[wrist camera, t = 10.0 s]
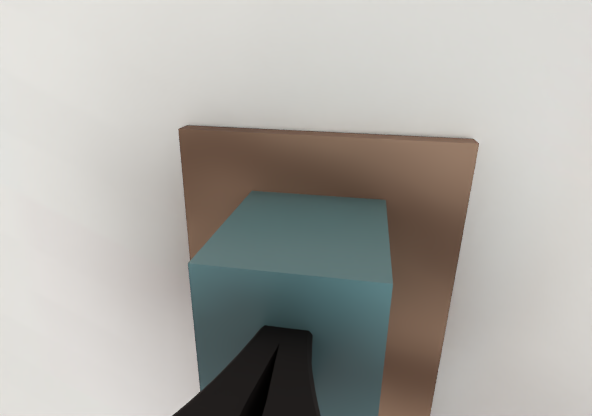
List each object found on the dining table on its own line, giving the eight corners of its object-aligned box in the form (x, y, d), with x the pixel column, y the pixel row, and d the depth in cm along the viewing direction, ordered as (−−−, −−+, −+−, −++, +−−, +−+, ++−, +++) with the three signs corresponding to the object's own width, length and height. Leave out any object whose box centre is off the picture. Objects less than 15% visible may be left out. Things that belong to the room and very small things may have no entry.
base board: (411, 494, 21) (412, 510, 21) (214, 457, 23) (209, 471, 22) (473, 139, 15) (478, 143, 14) (187, 125, 16) (178, 129, 16)
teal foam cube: (374, 315, 17) (375, 441, 12) (255, 302, 18) (202, 413, 12) (385, 199, 15) (392, 284, 10) (251, 190, 16) (188, 263, 10)
